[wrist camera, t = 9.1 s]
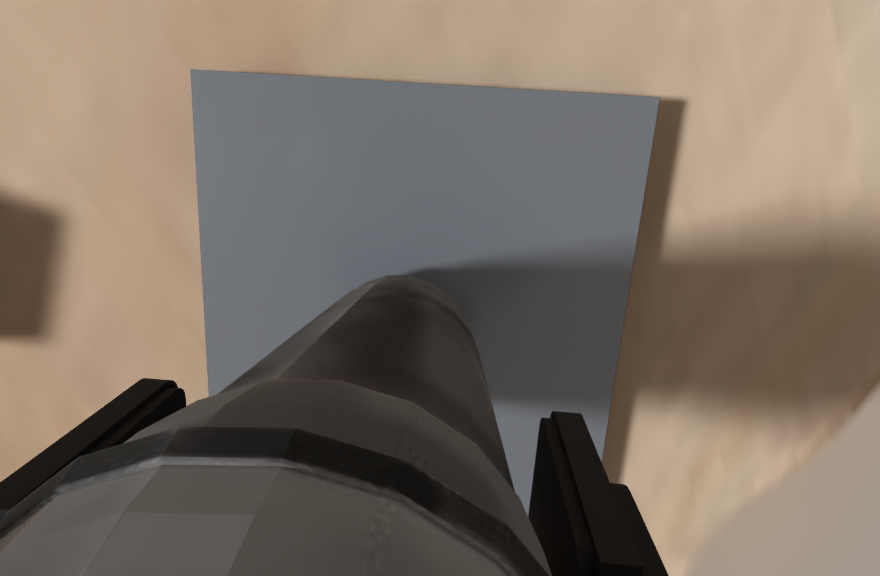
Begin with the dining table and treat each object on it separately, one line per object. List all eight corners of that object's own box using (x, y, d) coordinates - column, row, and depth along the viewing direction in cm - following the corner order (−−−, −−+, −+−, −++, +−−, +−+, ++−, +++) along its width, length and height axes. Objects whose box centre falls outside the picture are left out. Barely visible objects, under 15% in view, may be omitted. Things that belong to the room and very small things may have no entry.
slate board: (208, 74, 18) (190, 69, 16) (646, 100, 17) (659, 97, 16) (229, 499, 22) (215, 519, 21) (580, 531, 21) (586, 553, 20)
